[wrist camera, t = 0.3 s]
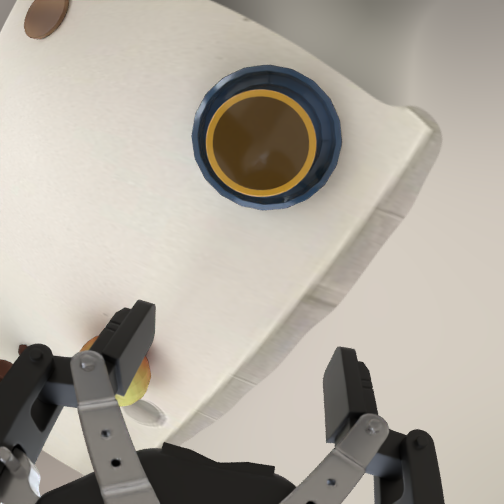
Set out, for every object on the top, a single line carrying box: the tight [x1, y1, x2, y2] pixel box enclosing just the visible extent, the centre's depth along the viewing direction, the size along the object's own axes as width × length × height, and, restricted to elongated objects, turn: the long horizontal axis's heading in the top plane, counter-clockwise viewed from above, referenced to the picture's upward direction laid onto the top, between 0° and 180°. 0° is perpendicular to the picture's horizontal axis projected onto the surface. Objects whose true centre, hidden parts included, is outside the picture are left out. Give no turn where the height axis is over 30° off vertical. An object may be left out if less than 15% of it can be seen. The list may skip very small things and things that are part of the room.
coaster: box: [24, 0, 69, 39], centre depth 22 cm, size 7×7×1 cm
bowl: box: [192, 65, 342, 210], centre depth 25 cm, size 11×11×4 cm
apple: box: [80, 336, 151, 407], centre depth 35 cm, size 10×10×8 cm
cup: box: [206, 89, 316, 197], centre depth 21 cm, size 6×6×11 cm
